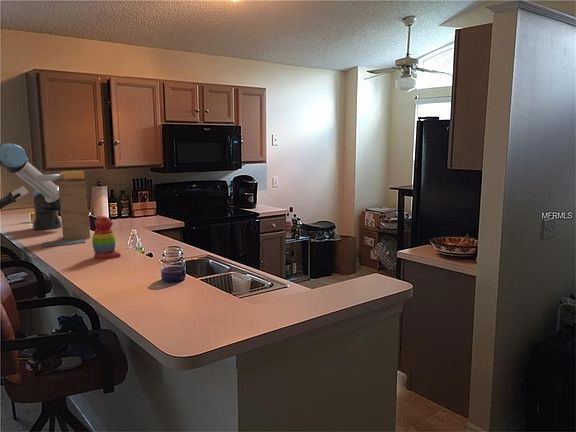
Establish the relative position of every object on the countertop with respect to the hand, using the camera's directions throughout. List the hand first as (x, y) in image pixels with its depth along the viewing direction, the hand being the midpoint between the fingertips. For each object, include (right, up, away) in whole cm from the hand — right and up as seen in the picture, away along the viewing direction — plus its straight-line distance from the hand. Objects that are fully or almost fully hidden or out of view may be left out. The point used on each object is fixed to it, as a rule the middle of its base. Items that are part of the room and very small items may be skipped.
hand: (26, 188), depth 233 cm
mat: (+17, -27, +3) cm, 32 cm away
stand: (+18, -25, +15) cm, 34 cm away
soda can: (+16, -23, +28) cm, 40 cm away
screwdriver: (+14, +4, +8) cm, 17 cm away
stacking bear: (+49, -31, -26) cm, 64 cm away
